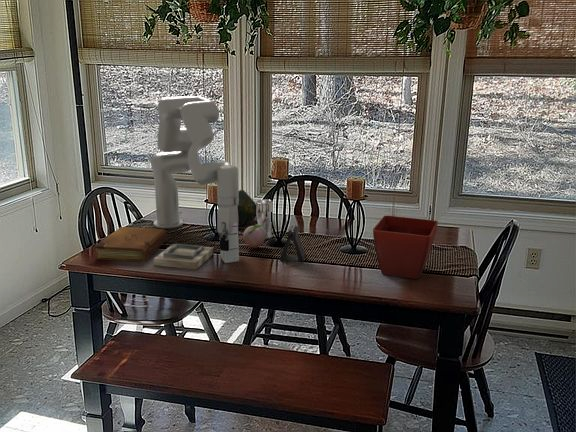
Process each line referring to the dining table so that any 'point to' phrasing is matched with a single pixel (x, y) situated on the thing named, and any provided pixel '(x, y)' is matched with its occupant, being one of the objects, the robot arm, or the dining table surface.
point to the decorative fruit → (254, 235)
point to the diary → (131, 244)
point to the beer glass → (264, 215)
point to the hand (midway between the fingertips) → (229, 246)
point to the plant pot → (403, 245)
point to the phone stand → (298, 246)
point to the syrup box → (231, 246)
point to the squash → (245, 208)
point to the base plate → (183, 256)
